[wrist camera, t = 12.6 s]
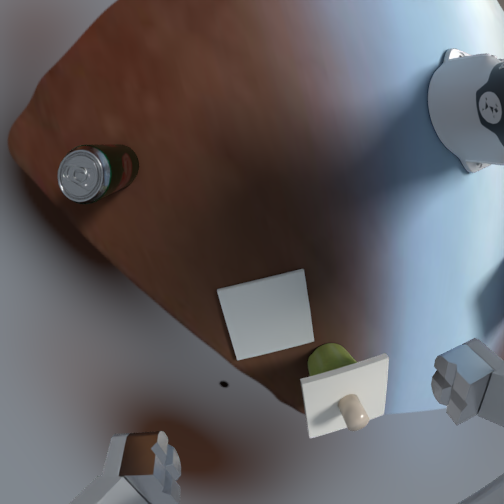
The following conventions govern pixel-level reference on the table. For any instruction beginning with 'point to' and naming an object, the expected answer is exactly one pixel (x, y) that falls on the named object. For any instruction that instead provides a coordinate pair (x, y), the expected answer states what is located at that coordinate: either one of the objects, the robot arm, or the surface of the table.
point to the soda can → (96, 171)
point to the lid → (345, 396)
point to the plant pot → (328, 359)
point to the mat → (267, 314)
